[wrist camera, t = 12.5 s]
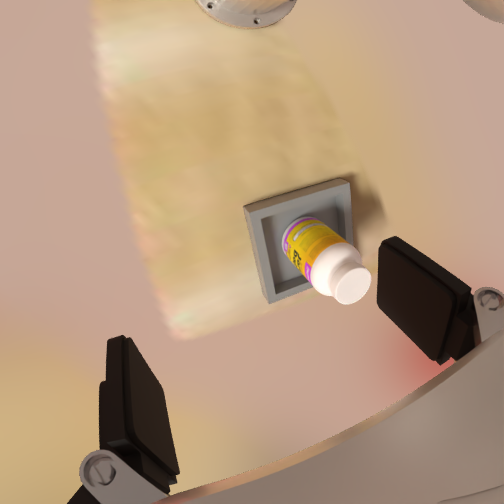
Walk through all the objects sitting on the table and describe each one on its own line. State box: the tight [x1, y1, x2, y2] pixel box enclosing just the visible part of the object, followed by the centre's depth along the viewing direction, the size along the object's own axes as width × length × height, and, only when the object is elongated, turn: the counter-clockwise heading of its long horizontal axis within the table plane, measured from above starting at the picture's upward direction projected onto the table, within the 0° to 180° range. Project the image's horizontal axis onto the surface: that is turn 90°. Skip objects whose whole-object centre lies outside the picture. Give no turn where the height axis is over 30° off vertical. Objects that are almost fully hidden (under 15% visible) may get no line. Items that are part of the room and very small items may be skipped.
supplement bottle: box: [282, 217, 371, 305], centre depth 38 cm, size 7×7×13 cm
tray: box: [243, 178, 353, 304], centre depth 43 cm, size 14×14×2 cm
